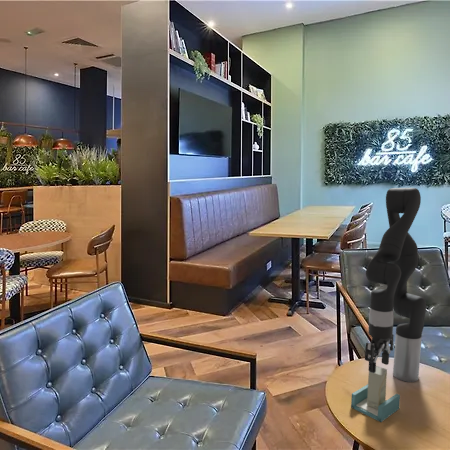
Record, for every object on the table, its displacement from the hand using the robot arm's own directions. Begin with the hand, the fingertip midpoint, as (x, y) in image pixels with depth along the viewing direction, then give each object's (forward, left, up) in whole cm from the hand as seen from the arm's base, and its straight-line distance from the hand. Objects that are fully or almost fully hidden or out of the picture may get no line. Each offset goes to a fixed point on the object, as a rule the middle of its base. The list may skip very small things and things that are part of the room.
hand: (378, 367), depth 140 cm
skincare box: (0, 0, -13) cm, 13 cm away
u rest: (0, 0, -15) cm, 15 cm away
